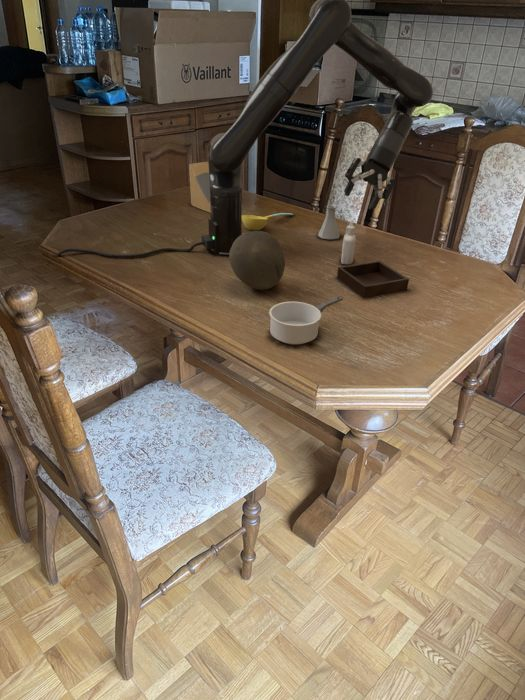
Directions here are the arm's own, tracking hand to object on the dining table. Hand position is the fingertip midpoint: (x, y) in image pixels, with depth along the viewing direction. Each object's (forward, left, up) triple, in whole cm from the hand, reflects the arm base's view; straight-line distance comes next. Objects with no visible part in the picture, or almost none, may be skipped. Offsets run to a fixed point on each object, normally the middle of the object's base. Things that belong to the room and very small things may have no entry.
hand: (358, 202), depth 156 cm
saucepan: (-35, -37, -16) cm, 53 cm away
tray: (-7, -21, -16) cm, 27 cm away
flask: (+1, +16, -16) cm, 23 cm away
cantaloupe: (-37, -12, -16) cm, 42 cm away
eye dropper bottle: (-5, -5, -16) cm, 17 cm away
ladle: (-12, +34, -16) cm, 40 cm away
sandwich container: (-25, +58, -16) cm, 65 cm away
